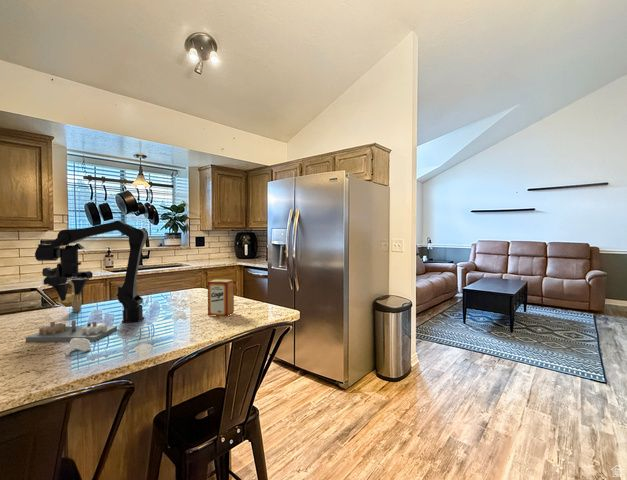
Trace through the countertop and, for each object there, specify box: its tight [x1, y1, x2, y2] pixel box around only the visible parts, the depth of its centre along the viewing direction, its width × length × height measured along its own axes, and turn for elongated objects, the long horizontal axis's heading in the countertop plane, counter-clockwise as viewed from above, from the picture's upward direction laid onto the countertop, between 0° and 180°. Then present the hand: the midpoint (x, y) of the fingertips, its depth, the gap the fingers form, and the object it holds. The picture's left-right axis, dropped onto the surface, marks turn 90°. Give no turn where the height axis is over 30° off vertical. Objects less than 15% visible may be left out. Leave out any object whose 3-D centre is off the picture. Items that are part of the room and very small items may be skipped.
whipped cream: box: [65, 338, 92, 356], centre depth 98 cm, size 8×7×5 cm
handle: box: [67, 279, 83, 312], centre depth 147 cm, size 5×6×15 cm
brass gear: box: [58, 292, 82, 304], centre depth 125 cm, size 7×7×2 cm
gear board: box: [25, 319, 118, 343], centre depth 113 cm, size 24×12×6 cm, turn 91°
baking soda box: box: [207, 279, 235, 317], centre depth 141 cm, size 10×6×16 cm
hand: (70, 298), depth 125 cm, fingers closed on brass gear, 7 cm apart
